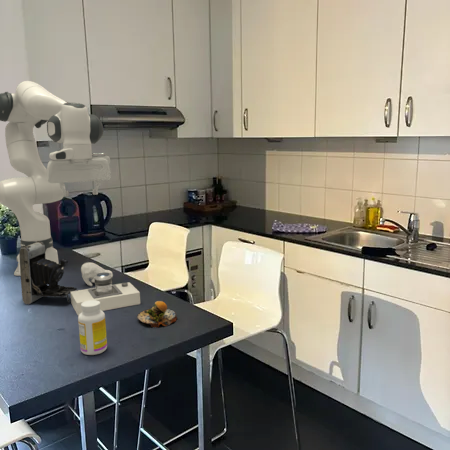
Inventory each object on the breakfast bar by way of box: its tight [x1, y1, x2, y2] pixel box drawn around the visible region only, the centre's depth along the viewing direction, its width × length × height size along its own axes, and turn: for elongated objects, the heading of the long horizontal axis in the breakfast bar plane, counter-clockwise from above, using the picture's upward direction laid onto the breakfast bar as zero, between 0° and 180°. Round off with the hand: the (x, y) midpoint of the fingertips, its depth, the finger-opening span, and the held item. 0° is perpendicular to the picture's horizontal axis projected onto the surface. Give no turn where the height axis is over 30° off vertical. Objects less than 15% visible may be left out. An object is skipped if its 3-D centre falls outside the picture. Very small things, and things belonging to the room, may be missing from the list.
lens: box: [94, 272, 113, 296], centre depth 149 cm, size 6×6×10 cm
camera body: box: [69, 282, 141, 316], centre depth 150 cm, size 12×20×5 cm, turn 118°
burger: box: [136, 300, 177, 329], centre depth 136 cm, size 12×12×8 cm
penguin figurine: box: [80, 262, 114, 287], centre depth 171 cm, size 6×8×12 cm
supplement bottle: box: [77, 300, 108, 356], centre depth 116 cm, size 7×7×13 cm
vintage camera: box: [18, 241, 78, 305], centre depth 151 cm, size 10×16×20 cm, turn 79°
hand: (81, 195), depth 151 cm, fingers open, 8 cm apart
